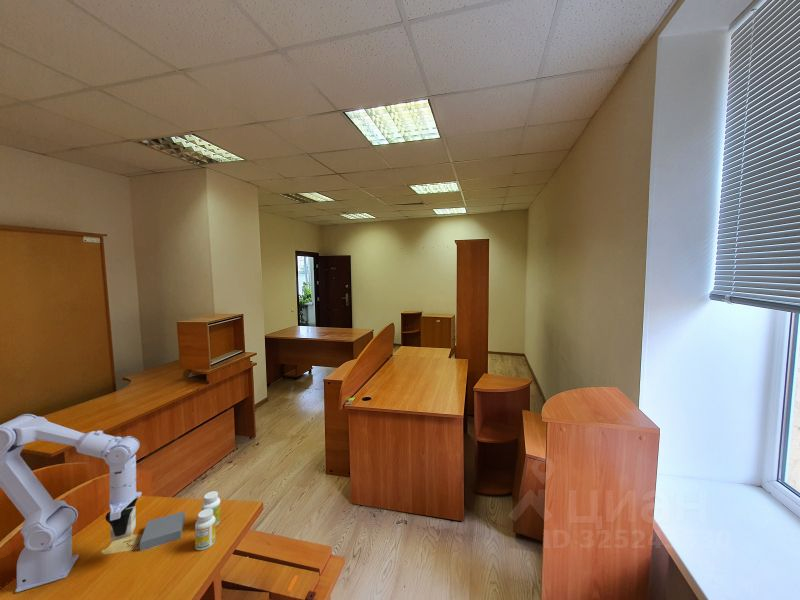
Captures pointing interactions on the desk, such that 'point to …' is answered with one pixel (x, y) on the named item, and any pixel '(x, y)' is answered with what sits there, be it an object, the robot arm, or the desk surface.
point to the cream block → (130, 526)
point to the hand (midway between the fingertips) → (123, 528)
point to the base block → (162, 530)
